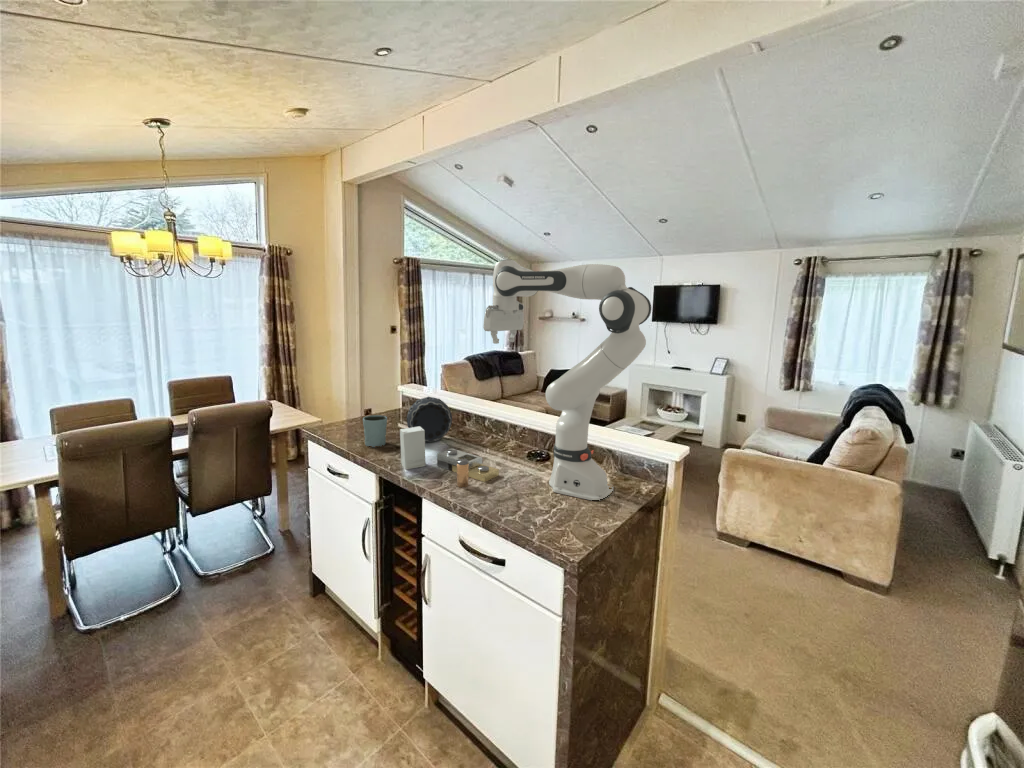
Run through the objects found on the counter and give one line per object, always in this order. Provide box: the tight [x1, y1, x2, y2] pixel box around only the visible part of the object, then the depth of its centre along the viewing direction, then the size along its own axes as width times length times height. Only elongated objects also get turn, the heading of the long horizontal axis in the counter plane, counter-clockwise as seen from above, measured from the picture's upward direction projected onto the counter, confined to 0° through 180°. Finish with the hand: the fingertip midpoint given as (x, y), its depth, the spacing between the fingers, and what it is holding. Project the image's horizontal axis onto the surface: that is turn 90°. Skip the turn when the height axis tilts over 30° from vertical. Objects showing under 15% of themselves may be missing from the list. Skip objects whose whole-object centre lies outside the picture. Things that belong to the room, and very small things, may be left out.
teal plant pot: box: [362, 414, 388, 448], centre depth 193 cm, size 10×10×12 cm
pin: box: [456, 459, 470, 489], centre depth 151 cm, size 4×4×9 cm
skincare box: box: [399, 426, 427, 471], centre depth 168 cm, size 8×6×15 cm
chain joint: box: [436, 448, 500, 483], centre depth 165 cm, size 24×8×6 cm, turn 53°
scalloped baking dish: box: [406, 396, 453, 443], centre depth 199 cm, size 11×20×20 cm, turn 107°
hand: (503, 342), depth 165 cm, fingers open, 8 cm apart
